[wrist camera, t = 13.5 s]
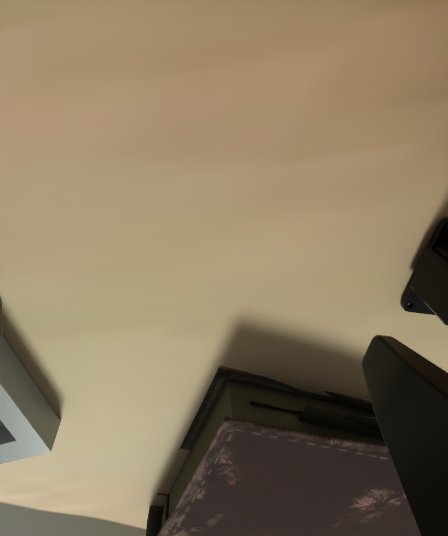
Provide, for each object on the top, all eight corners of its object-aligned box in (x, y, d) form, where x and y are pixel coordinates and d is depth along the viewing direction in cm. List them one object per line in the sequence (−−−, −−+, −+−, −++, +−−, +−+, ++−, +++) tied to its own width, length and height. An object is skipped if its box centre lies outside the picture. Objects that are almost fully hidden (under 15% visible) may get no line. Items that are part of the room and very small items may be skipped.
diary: (377, 532, 42) (399, 589, 38) (148, 502, 36) (143, 566, 31) (494, 418, 34) (539, 474, 29) (223, 353, 28) (230, 411, 23)
